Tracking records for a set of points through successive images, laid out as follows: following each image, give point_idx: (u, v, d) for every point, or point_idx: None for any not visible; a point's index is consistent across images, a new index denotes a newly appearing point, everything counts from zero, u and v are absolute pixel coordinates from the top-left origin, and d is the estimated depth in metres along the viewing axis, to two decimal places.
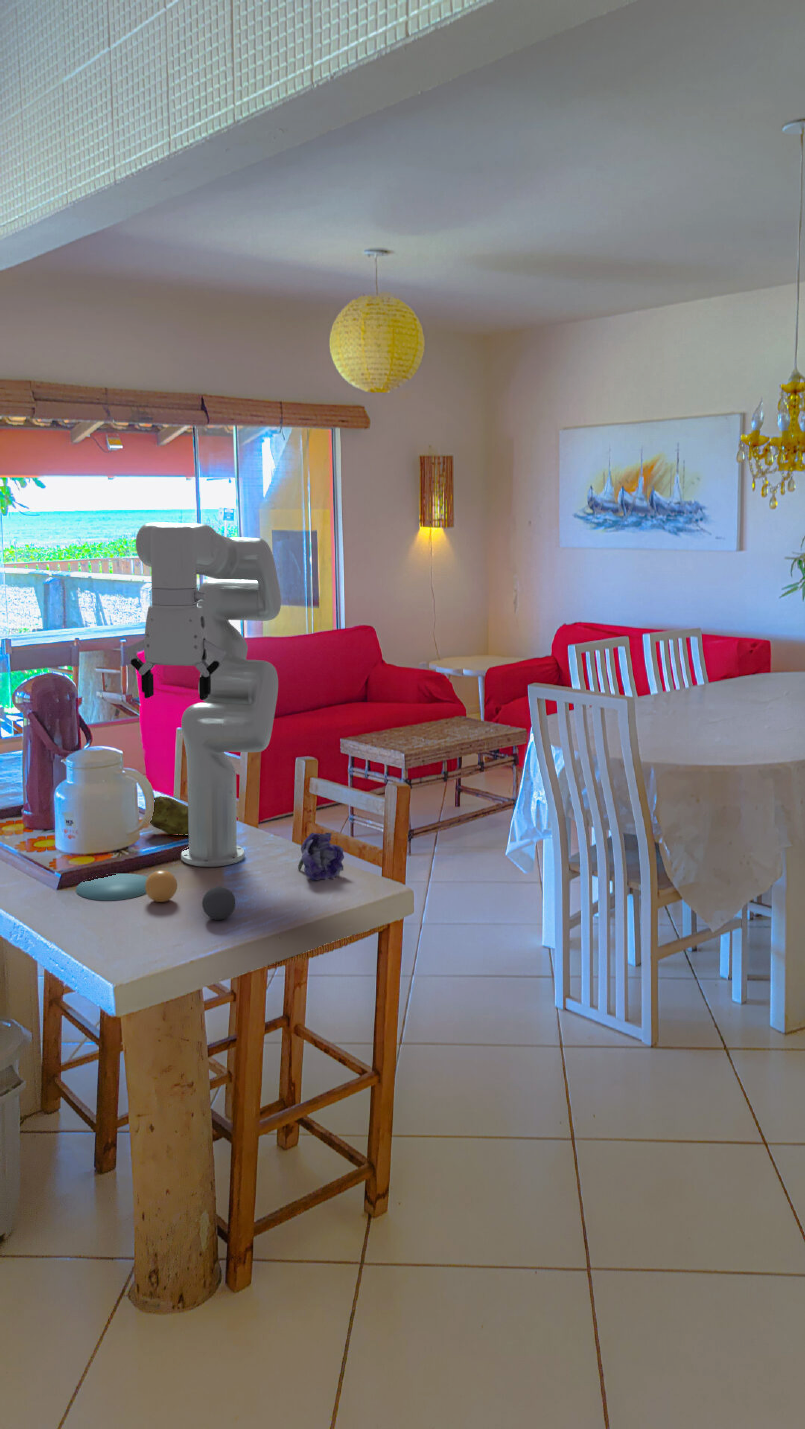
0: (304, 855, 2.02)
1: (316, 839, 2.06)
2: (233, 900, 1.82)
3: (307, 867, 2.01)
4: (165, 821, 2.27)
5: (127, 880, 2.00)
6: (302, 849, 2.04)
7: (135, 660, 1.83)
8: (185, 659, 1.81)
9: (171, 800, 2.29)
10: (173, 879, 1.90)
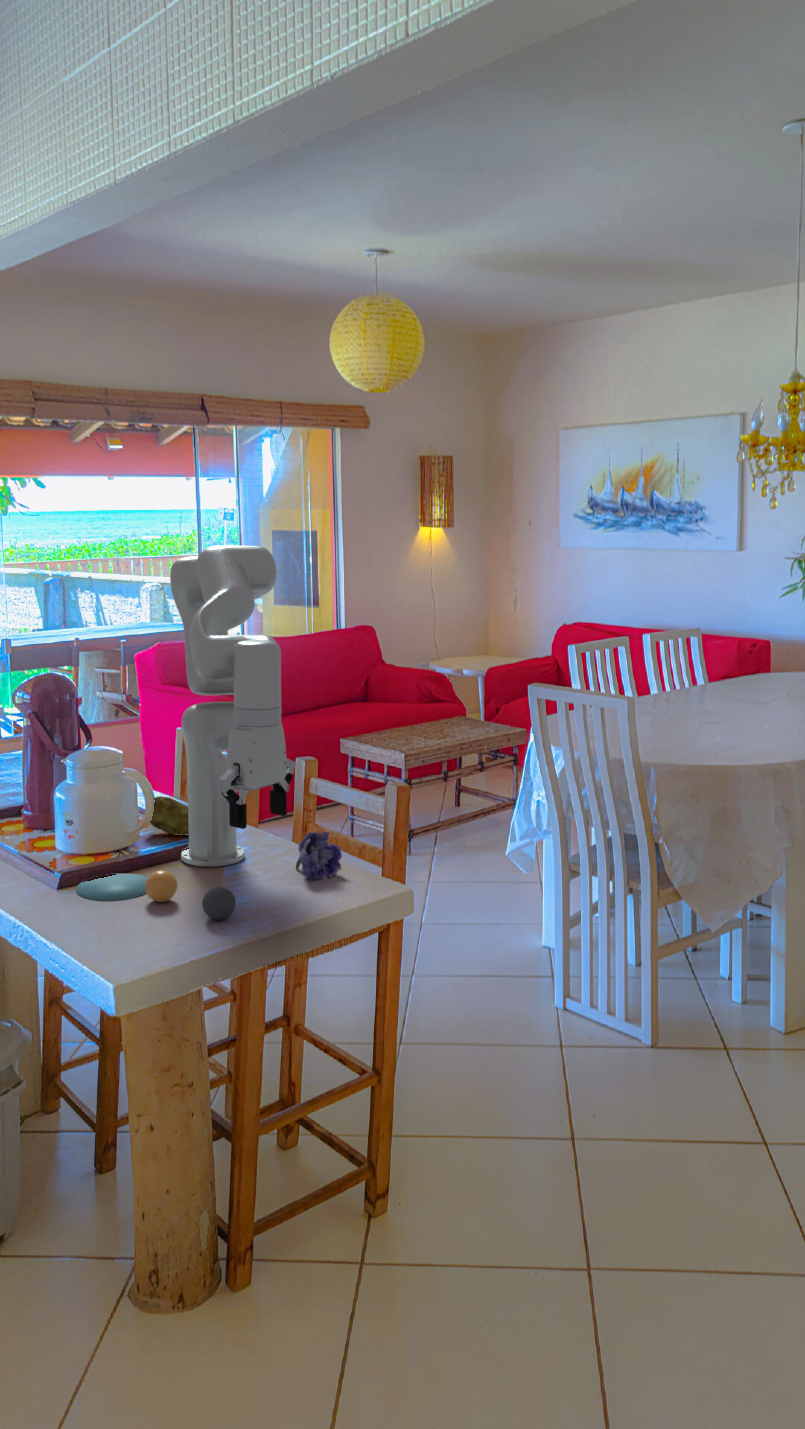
0: (302, 854, 2.03)
1: (314, 838, 2.07)
2: (233, 900, 1.82)
3: (305, 866, 2.01)
4: (165, 821, 2.27)
5: (127, 880, 2.00)
6: (300, 848, 2.05)
7: (232, 790, 1.67)
8: (277, 777, 1.74)
9: (171, 800, 2.29)
10: (173, 879, 1.90)
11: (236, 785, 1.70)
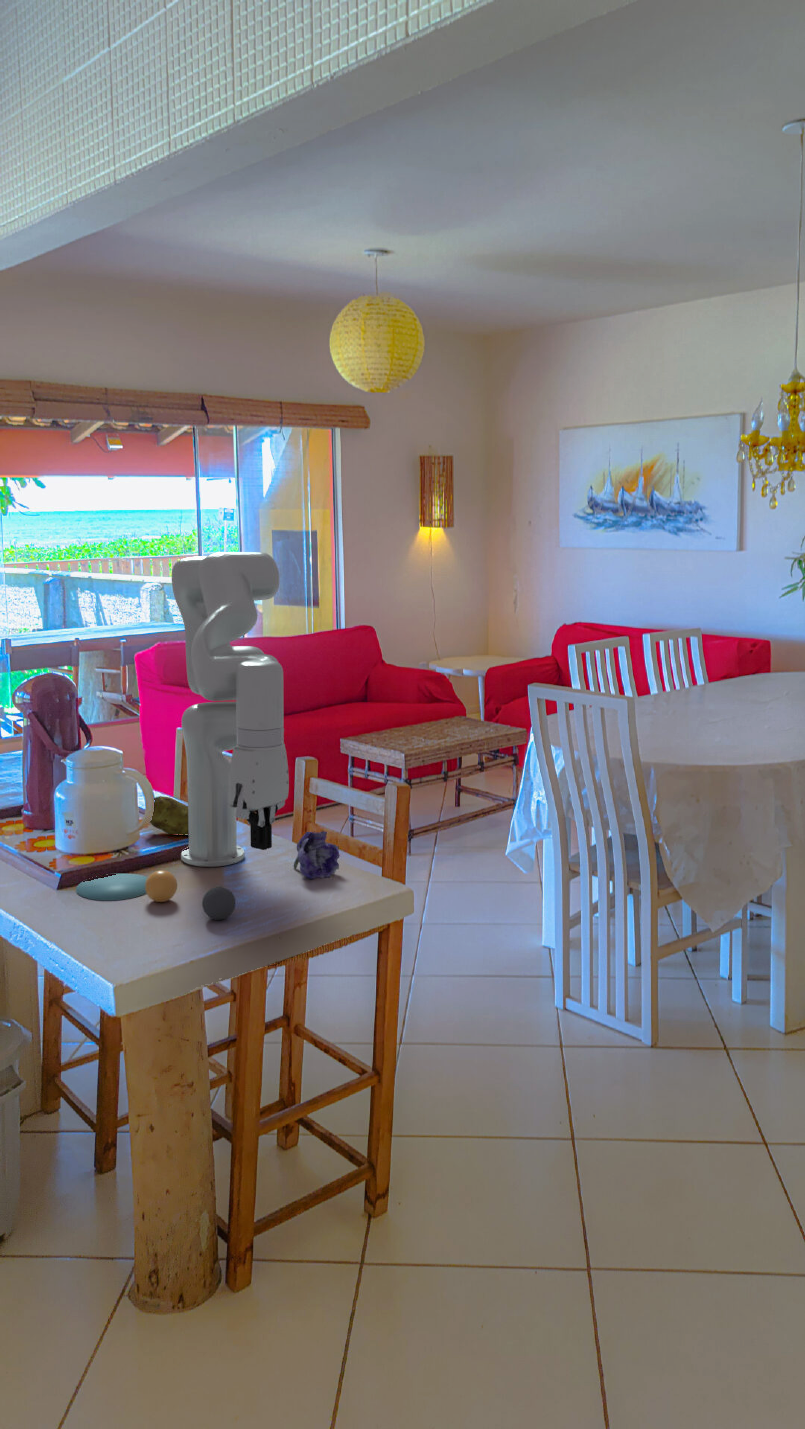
0: (300, 854, 2.03)
1: (312, 838, 2.07)
2: (233, 900, 1.82)
3: (303, 866, 2.02)
4: (166, 821, 2.27)
5: (127, 880, 2.00)
6: (298, 848, 2.05)
7: (254, 813, 1.71)
8: (280, 797, 1.74)
9: (171, 800, 2.29)
10: (173, 879, 1.90)
11: (249, 810, 1.72)
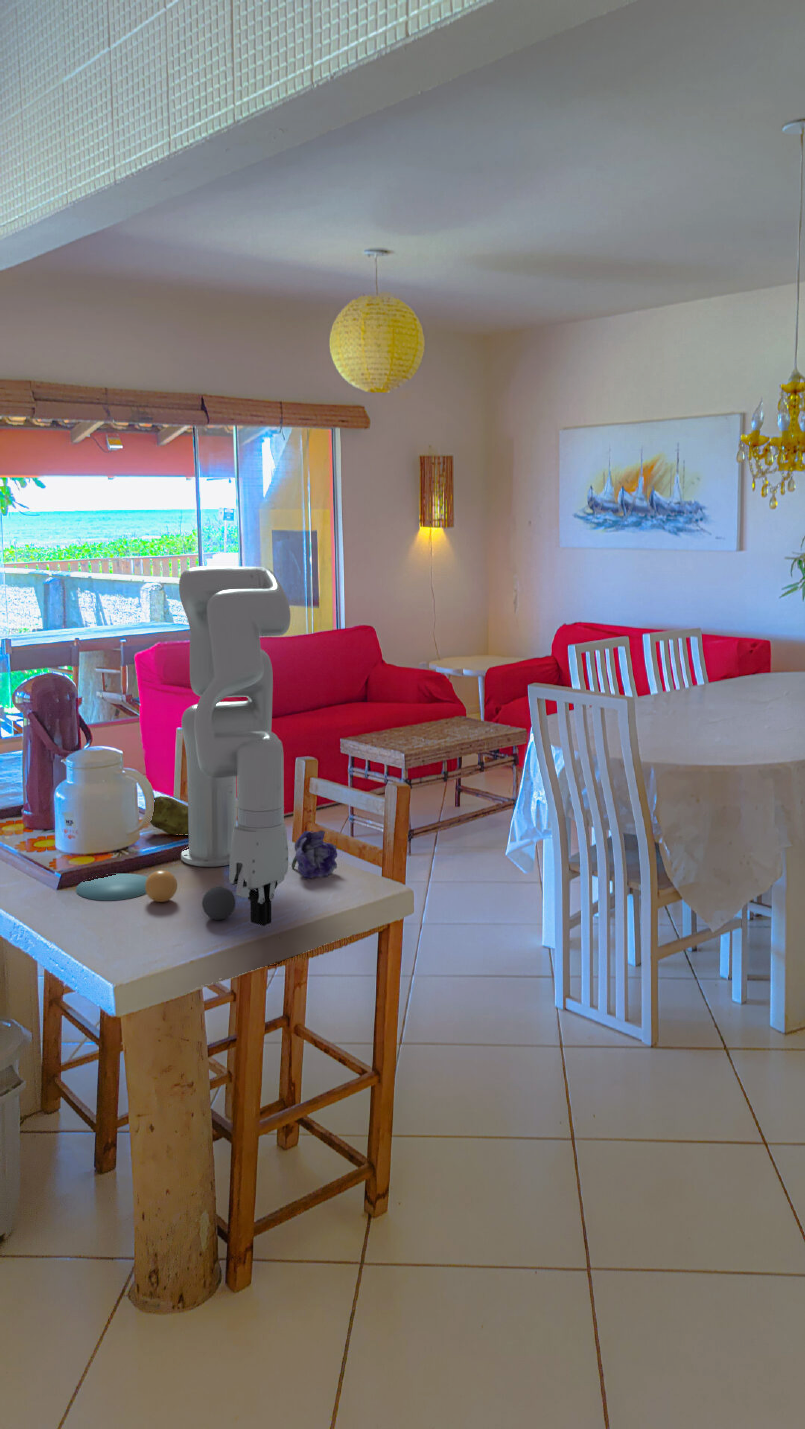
0: (298, 853, 2.03)
1: (309, 837, 2.07)
2: (233, 900, 1.82)
3: (301, 865, 2.02)
4: (166, 821, 2.27)
5: (127, 880, 2.00)
6: (296, 847, 2.06)
7: (254, 891, 1.74)
8: (279, 873, 1.77)
9: (171, 800, 2.29)
10: (173, 879, 1.90)
11: None
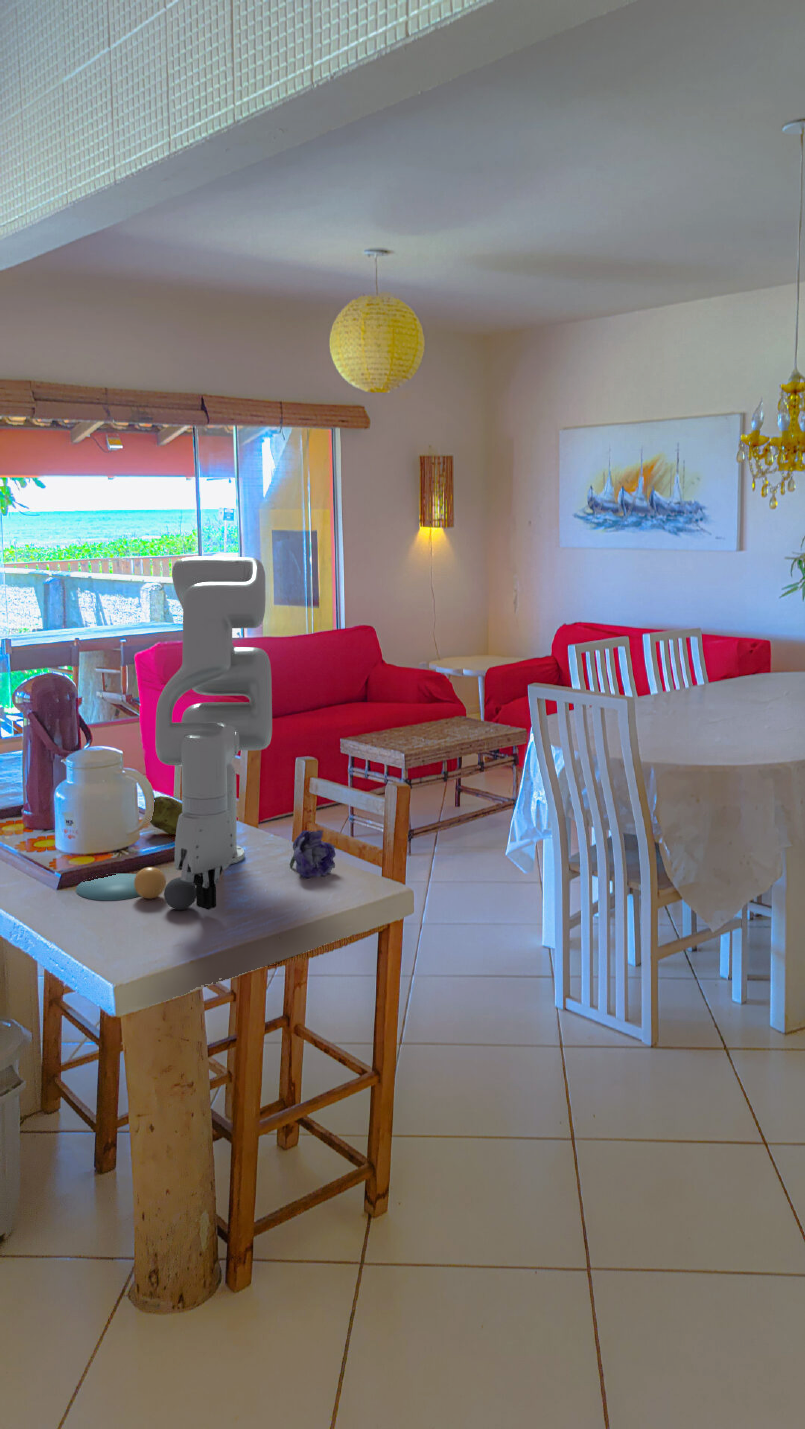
0: (296, 852, 2.04)
1: (308, 837, 2.08)
2: None
3: (299, 864, 2.02)
4: (166, 821, 2.27)
5: (127, 880, 2.00)
6: (294, 847, 2.06)
7: (199, 875, 1.81)
8: (224, 859, 1.84)
9: (171, 800, 2.29)
10: (153, 867, 1.92)
11: None
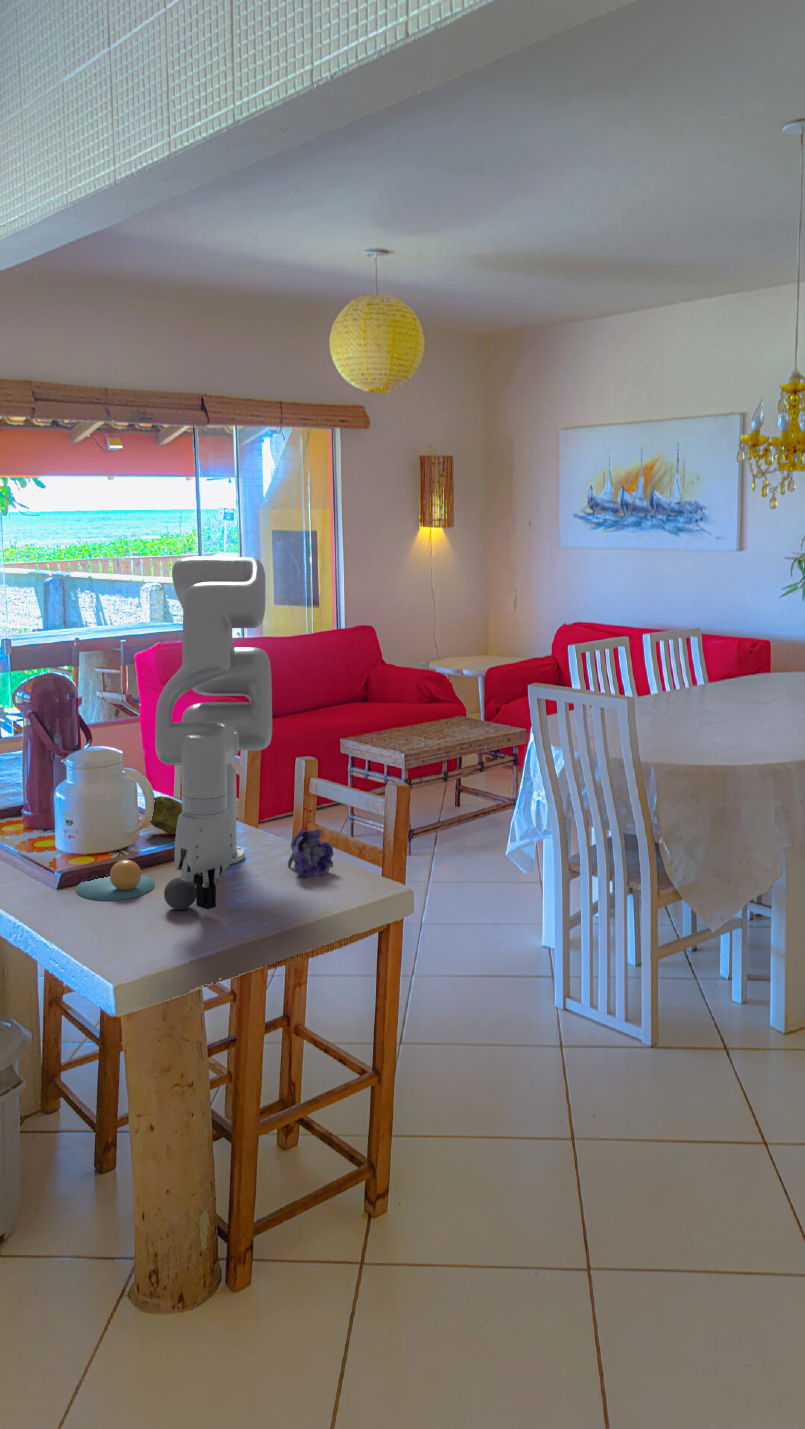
0: (294, 852, 2.04)
1: (306, 836, 2.08)
2: None
3: (297, 864, 2.03)
4: (166, 821, 2.27)
5: None
6: (292, 846, 2.06)
7: (199, 875, 1.81)
8: (224, 859, 1.84)
9: (171, 800, 2.29)
10: None
11: None
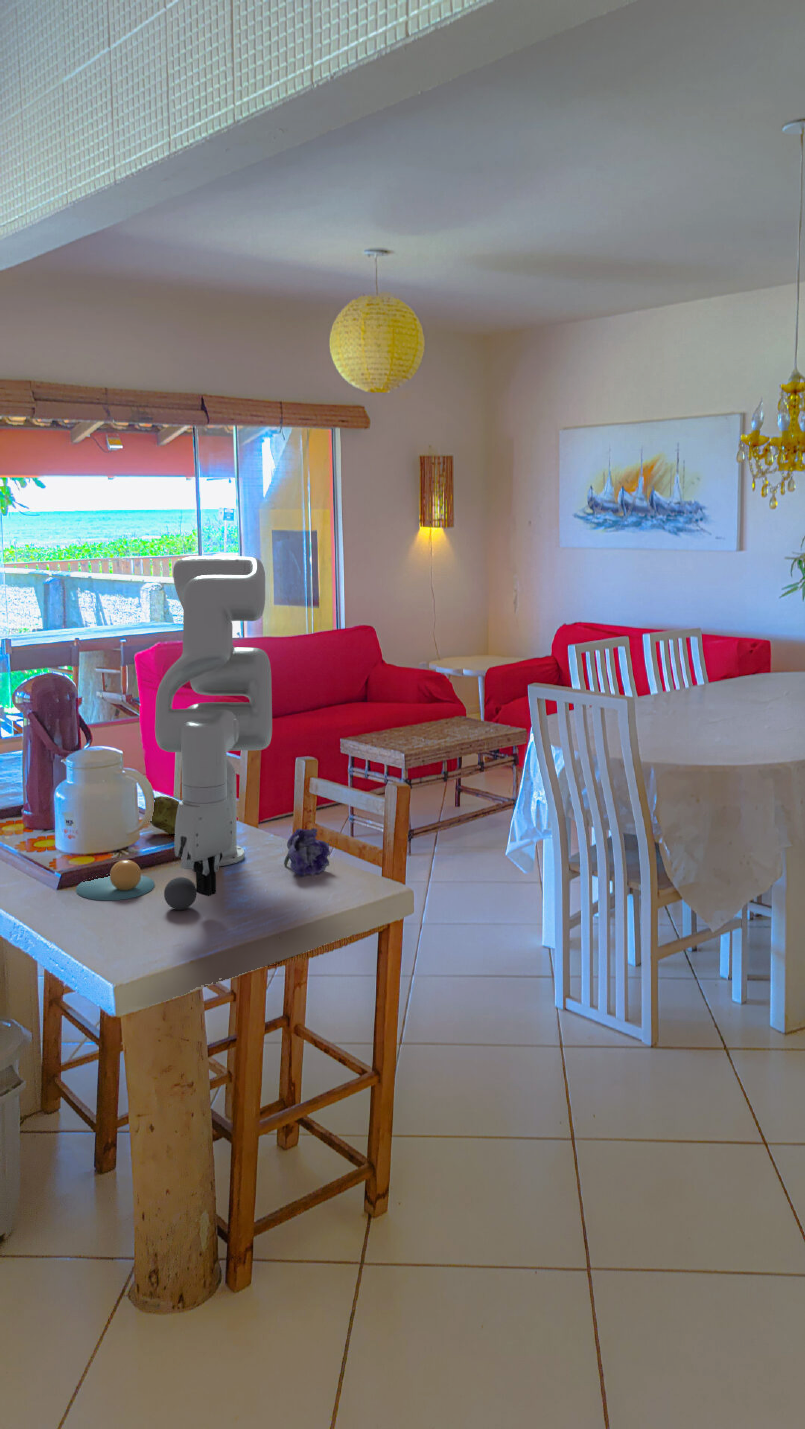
0: (290, 851, 2.04)
1: (302, 835, 2.09)
2: None
3: (293, 862, 2.03)
4: (166, 821, 2.27)
5: None
6: (288, 845, 2.07)
7: (199, 863, 1.81)
8: (224, 846, 1.84)
9: (172, 800, 2.29)
10: None
11: None
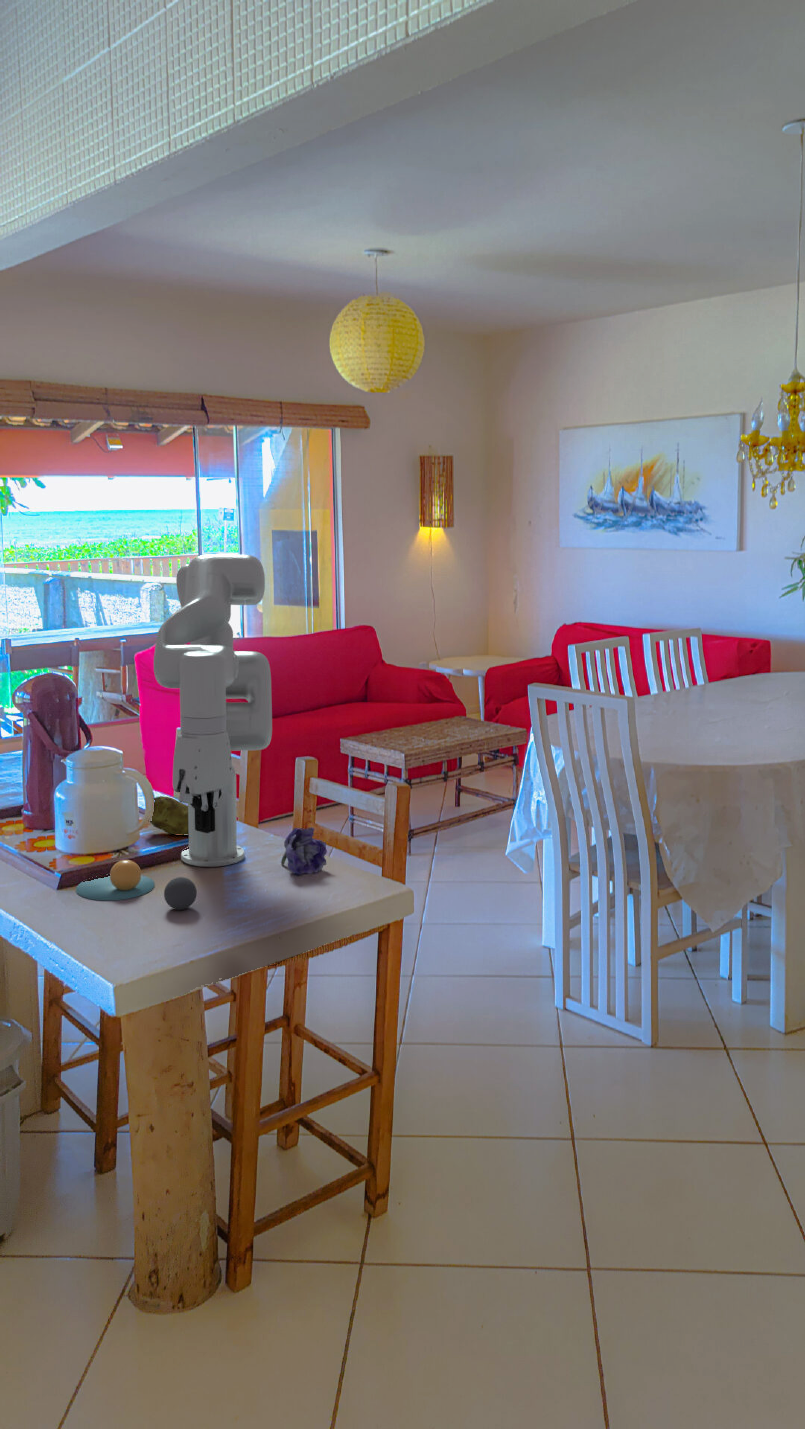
0: (288, 850, 2.05)
1: (299, 834, 2.09)
2: None
3: (291, 862, 2.04)
4: (166, 821, 2.27)
5: None
6: (285, 844, 2.07)
7: (197, 798, 1.78)
8: (223, 782, 1.81)
9: (172, 800, 2.29)
10: None
11: (193, 794, 1.79)
